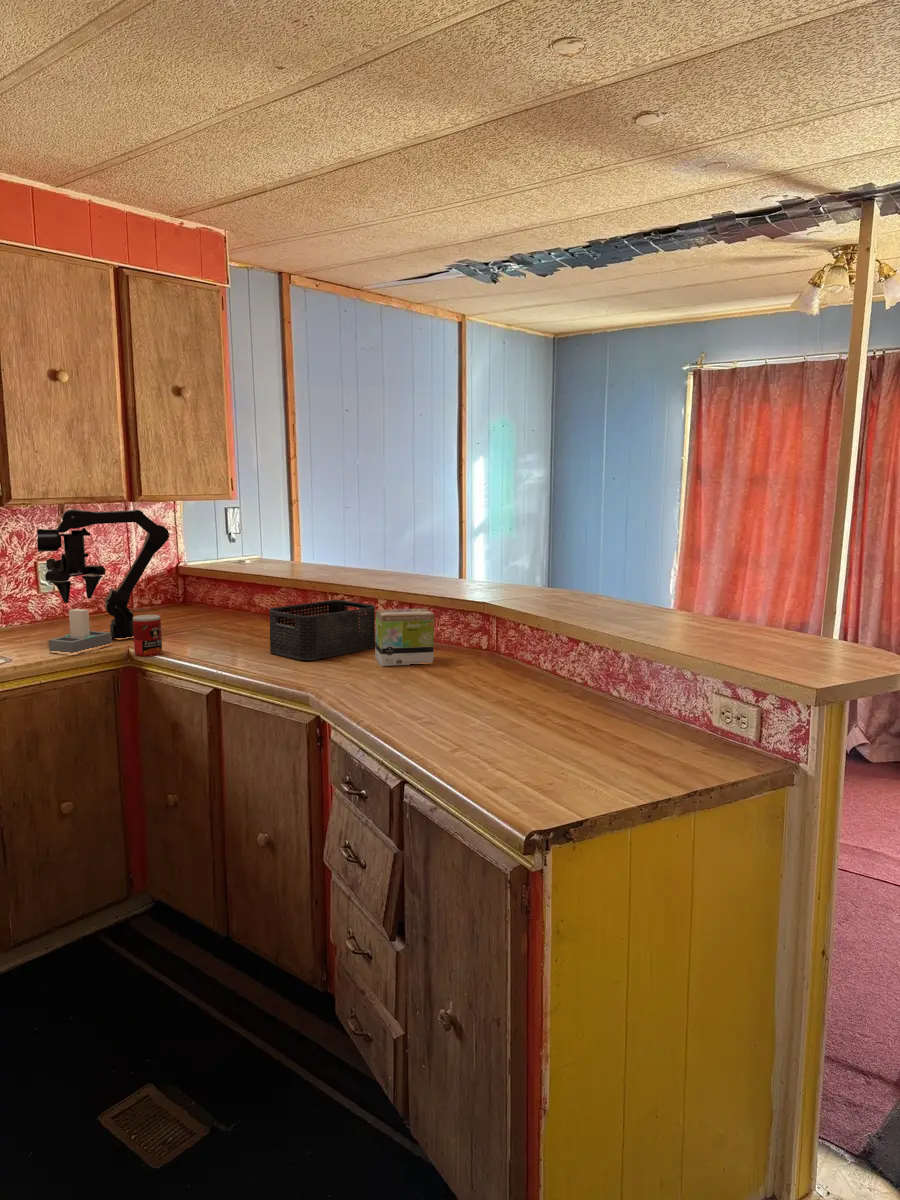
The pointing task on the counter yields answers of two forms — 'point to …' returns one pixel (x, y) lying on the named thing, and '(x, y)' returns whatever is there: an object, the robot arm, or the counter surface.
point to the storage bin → (321, 629)
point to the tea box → (404, 636)
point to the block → (79, 623)
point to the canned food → (147, 635)
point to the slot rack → (79, 642)
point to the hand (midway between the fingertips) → (77, 600)
